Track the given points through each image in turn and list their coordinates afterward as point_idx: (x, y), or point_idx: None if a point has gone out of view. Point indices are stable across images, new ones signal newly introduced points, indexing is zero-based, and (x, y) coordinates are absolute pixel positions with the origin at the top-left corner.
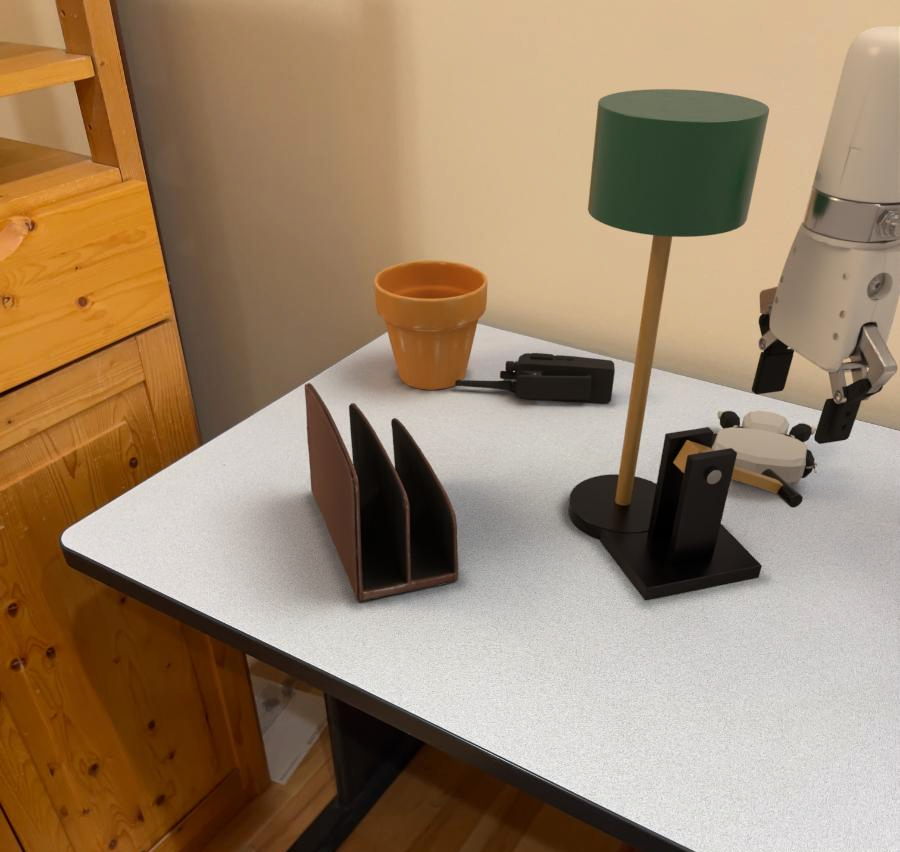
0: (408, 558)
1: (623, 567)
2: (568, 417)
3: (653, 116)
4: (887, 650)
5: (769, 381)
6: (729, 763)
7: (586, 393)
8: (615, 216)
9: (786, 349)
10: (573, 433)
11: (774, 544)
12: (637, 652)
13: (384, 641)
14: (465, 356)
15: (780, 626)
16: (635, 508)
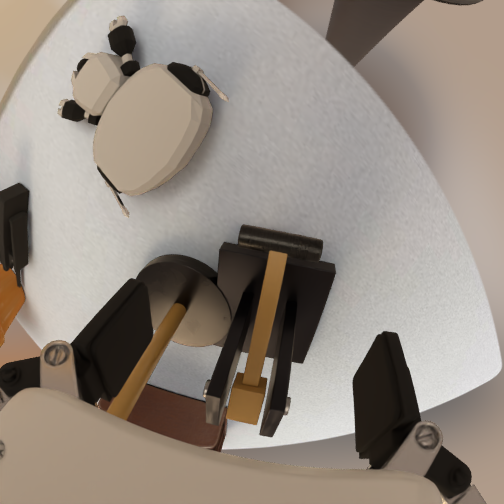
0: (221, 439)
1: None
2: (44, 236)
3: None
4: (464, 241)
5: (139, 337)
6: (430, 381)
7: (23, 218)
8: None
9: (89, 369)
10: (63, 248)
11: (296, 203)
12: (342, 380)
13: (258, 435)
14: (3, 286)
15: (393, 294)
16: (193, 307)
